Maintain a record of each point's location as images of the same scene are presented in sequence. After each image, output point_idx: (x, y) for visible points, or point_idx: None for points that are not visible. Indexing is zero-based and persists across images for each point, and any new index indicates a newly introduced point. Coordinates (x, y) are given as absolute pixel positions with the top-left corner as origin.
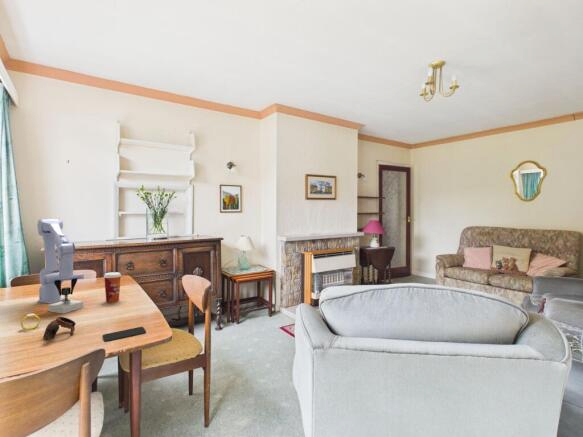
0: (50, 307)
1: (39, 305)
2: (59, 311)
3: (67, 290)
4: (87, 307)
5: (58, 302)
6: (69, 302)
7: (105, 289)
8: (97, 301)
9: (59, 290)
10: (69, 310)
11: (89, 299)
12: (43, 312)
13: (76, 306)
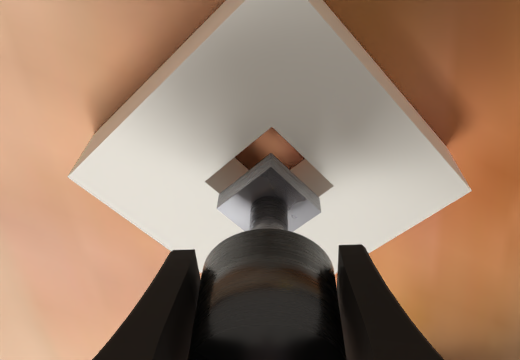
0: (441, 150)
1: (496, 341)
2: (334, 17)
3: (234, 299)
4: (40, 103)
5: None
6: None
7: None
8: (7, 267)
9: (384, 316)
10: (215, 13)
11: None
12: (496, 122)
13: (142, 92)
